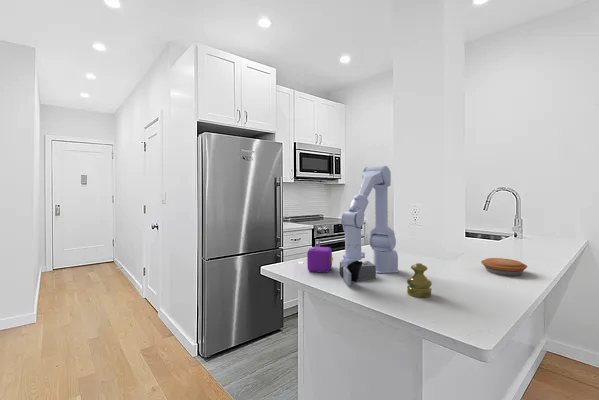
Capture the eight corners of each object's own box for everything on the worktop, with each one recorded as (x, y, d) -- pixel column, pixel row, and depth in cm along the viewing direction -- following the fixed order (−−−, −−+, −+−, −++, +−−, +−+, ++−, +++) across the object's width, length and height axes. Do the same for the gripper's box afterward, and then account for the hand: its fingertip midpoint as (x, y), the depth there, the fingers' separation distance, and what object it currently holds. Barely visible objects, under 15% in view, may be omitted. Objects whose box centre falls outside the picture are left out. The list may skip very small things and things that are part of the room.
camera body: (368, 272, 123) (368, 259, 123) (375, 278, 115) (375, 263, 115) (338, 274, 121) (338, 260, 121) (343, 280, 113) (343, 265, 113)
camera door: (351, 286, 105) (351, 273, 105) (348, 286, 105) (347, 273, 105) (346, 279, 113) (346, 267, 113) (343, 279, 113) (343, 267, 113)
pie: (527, 280, 111) (527, 266, 111) (478, 273, 120) (479, 261, 120) (527, 271, 123) (527, 259, 123) (483, 265, 132) (483, 254, 132)
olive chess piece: (429, 299, 92) (429, 267, 92) (404, 295, 96) (404, 264, 96) (433, 292, 99) (433, 262, 98) (409, 289, 102) (409, 260, 102)
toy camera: (332, 265, 137) (332, 243, 137) (333, 273, 123) (332, 249, 123) (309, 265, 138) (308, 243, 138) (307, 273, 124) (306, 249, 124)
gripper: (352, 239, 116) (353, 274, 116) (333, 247, 104) (334, 285, 105) (369, 241, 111) (370, 277, 112) (351, 249, 100) (352, 289, 101)
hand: (354, 281), depth 108 cm, fingers closed, pressing on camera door
